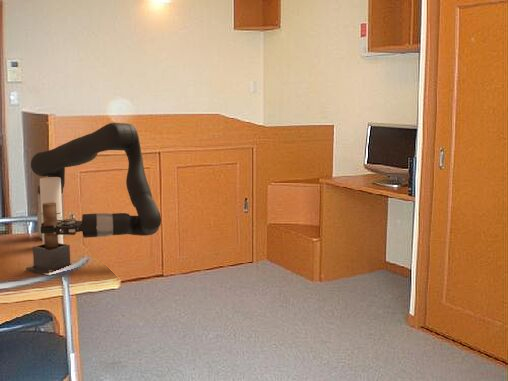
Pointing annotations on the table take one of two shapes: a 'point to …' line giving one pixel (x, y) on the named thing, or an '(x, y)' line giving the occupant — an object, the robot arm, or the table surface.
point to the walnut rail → (49, 220)
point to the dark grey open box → (50, 258)
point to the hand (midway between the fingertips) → (41, 228)
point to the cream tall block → (51, 198)
